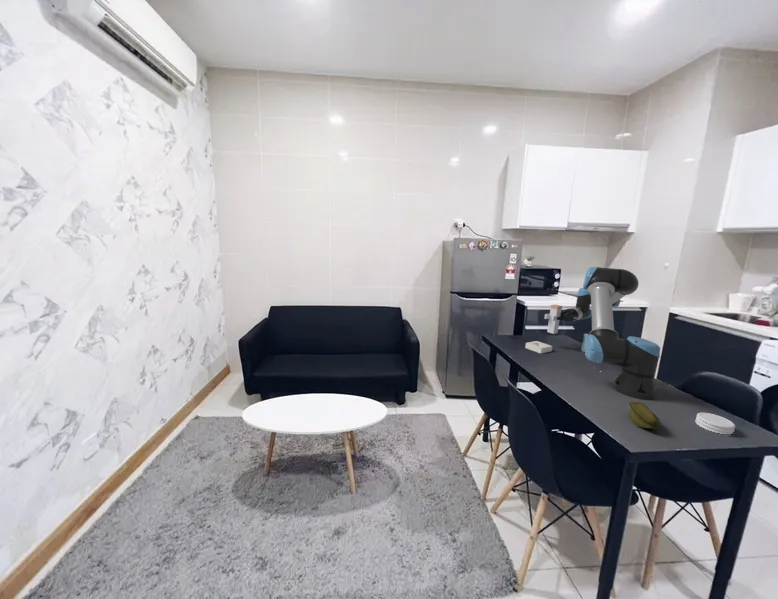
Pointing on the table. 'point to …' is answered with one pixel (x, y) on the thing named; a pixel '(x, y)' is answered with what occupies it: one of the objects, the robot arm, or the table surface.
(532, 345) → the white square base
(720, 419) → the white ridged lid
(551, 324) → the plug
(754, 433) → the table surface
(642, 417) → the fruit
